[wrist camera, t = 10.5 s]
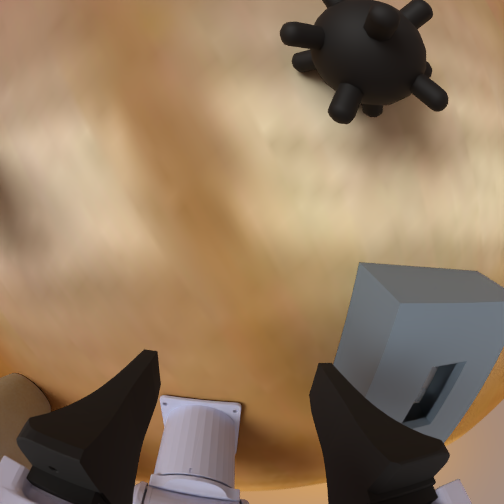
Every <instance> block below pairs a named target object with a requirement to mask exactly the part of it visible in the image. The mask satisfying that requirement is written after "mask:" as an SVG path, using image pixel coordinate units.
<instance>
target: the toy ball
mask: <svg viewBox="0 0 504 504" xmlns="http://www.w3.org/2000/svg"><path fill="white" fill-rule="evenodd" d="M322 1H323V2H324V4H325V5H326V7H327V9H326V10H325V11H324V12H323V13H322V14H321V15H320V16H319V17H318V19H317V20H316V22H315V24H314V25H310V24H305V23H300V22H287V23H285V24H284V25H283V26H282V28H281V30H280V37H281V40H282V42H283V43H284V44H285V45H288V46H294V47H301V48H308V49H310V50H307V51H303V52H299V53H296V54H294V55H293V58H292V64H293V67H294V68H295V69H296V70H298V71H299V72H304V71H310V70H315V69H317V71H318V73H319V75H320V76H321V78H322V79H323V80H324V81H325V83H326V84H328V85H329V86H330V87H331V88H333V89H334V90H335V91H336V93H335V95H334V97H333V99H332V102H331V104H330V106H329V108H328V113H329V116H330V117H331V118H332V119H333V120H334V121H336V122H338V123H341V124H348V123H350V122H351V121H352V120H353V119H354V117H355V115H356V113H357V110H358V108H359V105H360V103H361V104H362V108H363V112H364V113H365V114H366V115H368V116H370V117H377V116H379V115H380V114H381V113H382V111H383V105H389V104H392V103H394V102H397V101H399V100H401V99H403V98H405V97H407V96H409V95H410V94H411V93H412V94H413V95H415V96H416V97H417V98H418V99H420V100H421V101H422V102H423V103H425V104H426V105H427V106H428V107H429V108H431V109H432V110H434V111H442V110H443V109H444V108H445V107H446V106H447V104H448V96H447V93H446V92H445V91H444V90H443V89H442V88H441V87H440V86H438V85H437V84H436V83H435V82H433V81H432V80H431V79H430V78H429V77H431V74H432V68H431V66H430V64H429V63H428V62H427V61H426V49H425V46H424V43H423V41H422V38H421V36H420V33H419V31H418V30H417V29H418V28H420V27H421V26H422V25H423V24H425V23H426V22H427V21H429V20H430V19H431V18H432V16H433V11H432V8H431V7H430V5H429V4H428V3H426V2H425V1H423V0H412V1H411V2H410V3H408V4H407V5H406V6H405V7H403V8H402V9H401V10H400V11H399V10H398V9H396V8H394V7H392V6H391V5H389V4H386V3H382V2H379V1H375V0H322Z"/></svg>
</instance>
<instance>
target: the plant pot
mask: <svg viewBox="0 0 504 504" xmlns="http://www.w3.org/2000/svg"><path fill="white" fill-rule="evenodd" d="M50 412H51V407H50V404H49V402H48V400H47V398H46V397H45V395H44V394H43V393H42V392H41V390H40V389H39V388H38V387H37V386H36V385H35V384H34V383H32V382H31V381H30V380H29V379H27V378H26V377H24V376H22V375H20V374H17V373H12V374H9V375H7V376H4V377H2V378H0V462H1V460H2V458H3V456H7V457H9V458H11V459H13V460H14V461H16V462H18V463H20V464H22V465H23V466H25V467H26V468H27V469H29V470H30V469H31V467H32V464H31V463H30V462H29V460H28V459H27V458H26V457H25V455H24V454H23V453H22V451H21V450H20V448H19V447H18V445H17V441H16V439H17V437H18V435H19V433H20V432H21V430H22V428H23V427H24V425H25V423H26V422H27V420H28V419H29V418H30V417H34V416H38V415H42V414H46V413H50Z"/></svg>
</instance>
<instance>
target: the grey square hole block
mask: <svg viewBox="0 0 504 504" xmlns="http://www.w3.org/2000/svg"><path fill="white" fill-rule="evenodd" d="M503 346H504V288H503V287H502V286H500V285H498V284H497V283H495V282H494V281H492V280H491V279H489V278H487V277H486V276H484V275H483V274H481V273H479V272H478V271H469V270H455V269H441V268H428V267H414V266H401V265H388V264H374V263H361V262H359V266H358V271H357V276H356V280H355V285H354V289H353V293H352V297H351V302H350V306H349V310H348V314H347V318H346V321H345V325H344V329H343V333H342V336H341V340H340V343H339V347H338V350H337V354H336V357H335V360H334V364H333V365H334V366H335V367H336V368H337V370H338V371H339V372H340V373H341V374H342V375H343V376H344V377H345V378H346V379H347V380H348V381H349V382H350V383H351V384H352V385H353V386H354V387H355V388H356V389H357V390H358V391H359V392H360V393H361V394H362V395H363V396H364V397H365V398H366V399H367V400H369V401H370V402H371V403H372V404H373V405H374V406H376V407H377V408H378V409H380V410H381V411H382V412H384V413H385V414H387V415H388V416H390V417H391V418H393V419H394V420H396V421H398V422H400V423H401V424H403V425H405V426H407V427H409V428H411V429H413V430H415V431H418V432H420V433H422V434H425V435H428V436H431V437H434V438H437V439H440V440H442V442H443V443H444V442H445V441H446V440H447V438H448V437H449V436H450V434H451V433H452V432H453V430H454V429H455V428H456V426H457V425H458V423H459V422H460V421H461V419H462V418H463V416H464V415H465V413H466V412H467V410H468V409H469V407H470V406H471V404H472V403H473V401H474V399H475V398H476V396H477V395H478V393H479V391H480V390H481V388H482V386H483V384H484V383H485V381H486V379H487V377H488V376H489V374H490V372H491V370H492V368H493V366H494V364H495V363H496V361H497V359H498V357H499V355H500V353H501V351H502V348H503ZM436 366H439V367H438V369H437V371H436V373H435V375H434V377H433V379H432V381H431V383H430V385H429V386H428V388H427V390H426V392H425V394H424V396H423V397H422V399H421V401H420V402H418V403H414V401H415V400H416V398H417V396H418V394H419V392H420V390H421V388H422V387H423V385H424V383H425V381H426V379H427V377H428V375H429V373H430V371H431V369H432V367H436Z"/></svg>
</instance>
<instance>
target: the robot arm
mask: <svg viewBox="0 0 504 504" xmlns="http://www.w3.org/2000/svg"><path fill="white" fill-rule="evenodd" d="M160 385H161V382H160V373H159V363H158V353H157V351H151V350H145V349H144V350H143V351H142V352H141V353H140V354H139V355H138V356H137V357H136V358H135V359H134V360H133V361H131V362H130V363H129V364H128V365H127V366H126V367H125V368H124V369H123V370H122V371H120V372H119V373H118V374H117V375H116V376H115V377H113V378H112V379H111V380H110V381H108V382H107V383H106V384H105V385H103V386H102V387H100V388H99V389H98V390H96V391H95V392H93V393H91V394H90V395H88V396H86V397H85V398H83V399H81V400H79V401H77V402H75V403H73V404H71V405H68V406H66V407H64V408H61V409H58V410H56V411H53V412H50V413H46V414H42V415H38V416H34V417H30V418H29V419H28V420H27V422H26V423H25V425H24V427H23V428H22V430H21V432H20V433H19V435H18V437H17V439H16V441H17V445H18V447H19V448H20V450H21V451H22V453H23V454H24V455H25V457H26V458H27V459H28V460H29V462H30V463H31V464H32V467H31V469H30V470H29V469H27V468H26V467H25V466H23V465H22V464H20V463H18V462H16V461H14V460H13V459H11V458H9V457H7V456H3V458H2V460H1V462H0V504H249V502H248V501H247V500H244V499H240V490H239V489H234V477H235V453H236V451H237V442H238V433H239V424H240V415H241V404H239V403H235V402H221V401H209V400H199V399H190V398H181V397H174V396H167V395H162V396H161V397H160V404H161V410H162V416H163V422H164V427H165V428H164V432H163V436H162V440H161V444H160V449H159V453H158V457H157V462H156V466H155V470H154V474H151V477H150V481H149V486H148V483H146V482H143V481H141V482H140V483H139V484H136V485H135V479H136V473H137V467H138V462H139V457H140V452H141V447H142V444H143V440H144V437H145V434H146V431H147V429H148V426H149V423H150V420H151V417H152V415H153V412H154V409H155V406H156V403H157V399H158V395H159V390H160ZM309 396H310V404H311V411H312V416H313V420H314V423H315V427H316V430H317V434H318V437H319V441H320V444H321V448H322V452H323V457H324V463H325V470H326V478H327V487H328V502H329V504H472V503H471V501H470V499H469V497H468V495H467V493H466V491H465V489H464V487H463V485H462V483H461V481H460V479H457V480H455V481H452V482H450V483H448V484H445V485H443V486H441V487H439V488H437V489H436V490H435V489H434V487H433V485H434V484H435V479H434V476H435V475H436V474H437V473H438V472H439V470H440V469H441V468H442V467H443V466H444V465H445V464H446V463H447V461H448V459H449V456H450V455H449V452H448V450H447V449H446V447H445V445H444V443H443V442H442V440H440V439H437V438H434V437H431V436H428V435H425V434H422V433H420V432H418V431H415V430H413V429H411V428H409V427H407V426H405V425H403V424H401V423H400V422H398V421H396V420H394V419H393V418H391V417H390V416H388V415H387V414H385V413H384V412H382V411H381V410H380V409H378V408H377V407H376V406H374V405H373V404H372V403H371V402H370V401H369V400H367V399H366V398H365V397H364V396H363V395H362V394H361V393H360V392H359V391H358V390H357V389H356V388H355V387H354V386H353V385H352V384H351V383H350V382H349V381H348V380H347V379H346V378H345V377H344V376H343V375H342V374H341V373H340V372H339V371H338V370H337V368H336V367H335V366H334V365H333V364H332V363H319V364H318V368H317V371H316V374H315V378H314V381H313V384H312V387H311V391H310V394H309ZM164 402H165V403H164Z"/></svg>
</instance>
